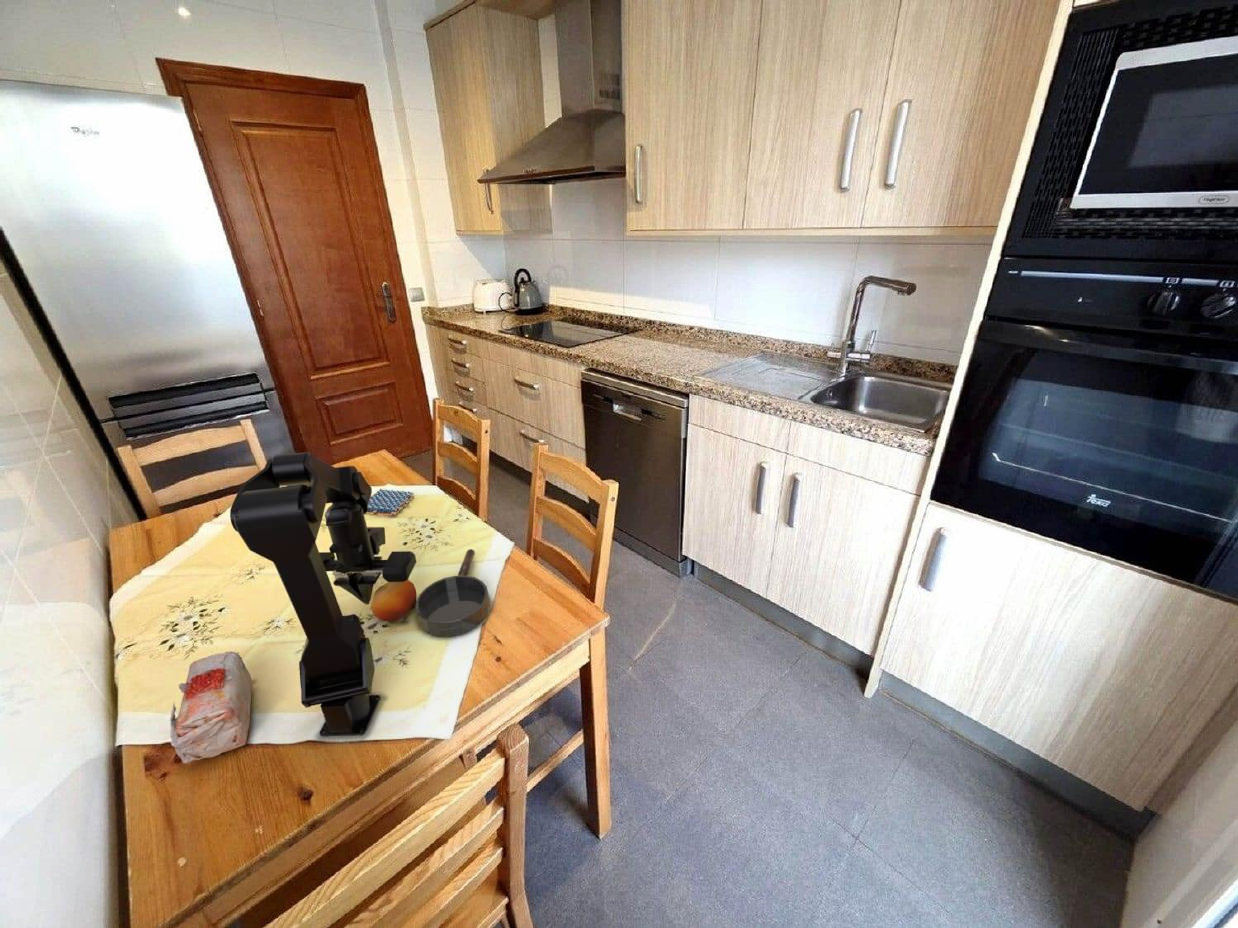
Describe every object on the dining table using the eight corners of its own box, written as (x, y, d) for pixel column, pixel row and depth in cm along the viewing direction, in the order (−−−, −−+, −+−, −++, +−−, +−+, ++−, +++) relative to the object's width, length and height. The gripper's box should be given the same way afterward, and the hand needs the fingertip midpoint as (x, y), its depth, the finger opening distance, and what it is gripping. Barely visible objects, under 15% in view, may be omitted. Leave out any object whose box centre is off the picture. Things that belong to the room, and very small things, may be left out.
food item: (255, 748, 71) (231, 700, 67) (184, 777, 67) (154, 729, 63) (257, 679, 81) (238, 634, 77) (196, 701, 78) (171, 655, 73)
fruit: (411, 627, 90) (383, 593, 88) (382, 637, 93) (355, 605, 91) (436, 597, 97) (410, 565, 95) (408, 607, 100) (383, 577, 98)
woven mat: (416, 497, 134) (415, 490, 133) (395, 518, 125) (393, 511, 124) (380, 493, 136) (379, 487, 135) (356, 514, 126) (355, 507, 125)
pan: (482, 636, 90) (480, 621, 89) (409, 638, 90) (405, 623, 88) (495, 588, 102) (493, 574, 100) (430, 589, 101) (427, 576, 100)
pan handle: (465, 583, 100) (464, 576, 100) (456, 583, 100) (455, 576, 100) (476, 554, 109) (475, 547, 108) (467, 554, 109) (466, 547, 108)
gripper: (418, 508, 95) (430, 574, 102) (316, 509, 94) (336, 575, 101) (398, 543, 85) (413, 613, 92) (284, 544, 84) (308, 615, 91)
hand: (367, 602), depth 94 cm, fingers closed
